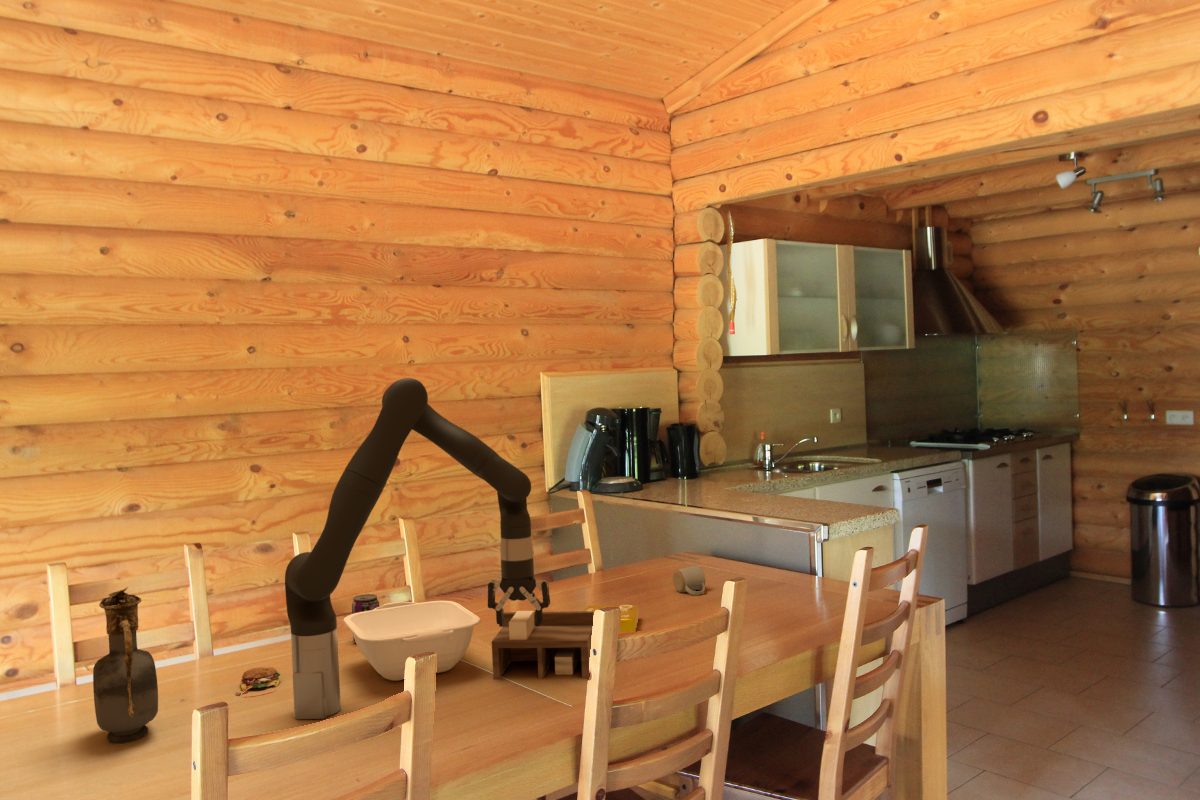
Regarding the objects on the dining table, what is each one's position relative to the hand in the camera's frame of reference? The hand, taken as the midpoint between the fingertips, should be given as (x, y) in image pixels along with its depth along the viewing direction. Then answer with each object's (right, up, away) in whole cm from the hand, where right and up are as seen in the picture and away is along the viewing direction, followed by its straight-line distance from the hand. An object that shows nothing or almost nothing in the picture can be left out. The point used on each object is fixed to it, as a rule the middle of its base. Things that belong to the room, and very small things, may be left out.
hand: (519, 625), depth 207 cm
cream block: (0, -3, +3) cm, 4 cm away
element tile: (+21, -10, +37) cm, 44 cm away
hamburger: (-61, -14, -2) cm, 62 cm away
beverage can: (-44, -12, +31) cm, 55 cm away
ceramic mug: (+47, -8, +72) cm, 86 cm away
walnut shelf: (+6, -11, +3) cm, 13 cm away
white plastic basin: (-26, -12, +7) cm, 30 cm away
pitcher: (-75, -15, -30) cm, 82 cm away
